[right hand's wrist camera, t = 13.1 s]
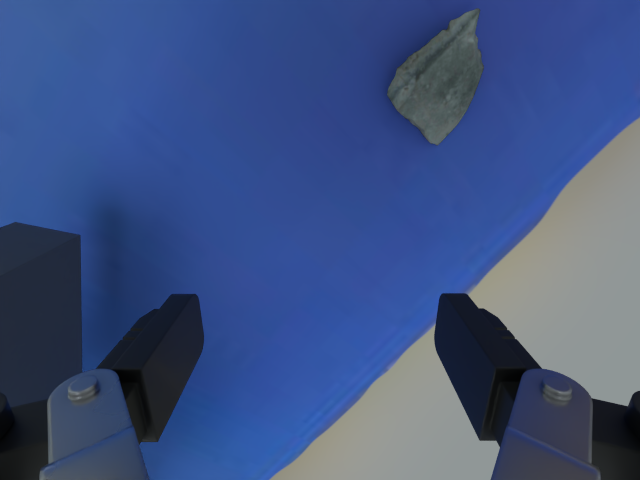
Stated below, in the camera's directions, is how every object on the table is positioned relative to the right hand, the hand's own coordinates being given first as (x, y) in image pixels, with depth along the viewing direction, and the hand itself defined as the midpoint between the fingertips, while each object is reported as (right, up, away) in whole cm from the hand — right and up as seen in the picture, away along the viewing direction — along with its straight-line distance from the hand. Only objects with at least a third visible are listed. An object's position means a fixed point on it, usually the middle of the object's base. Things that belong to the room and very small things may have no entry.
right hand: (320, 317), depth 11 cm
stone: (+12, +18, +25) cm, 33 cm away
